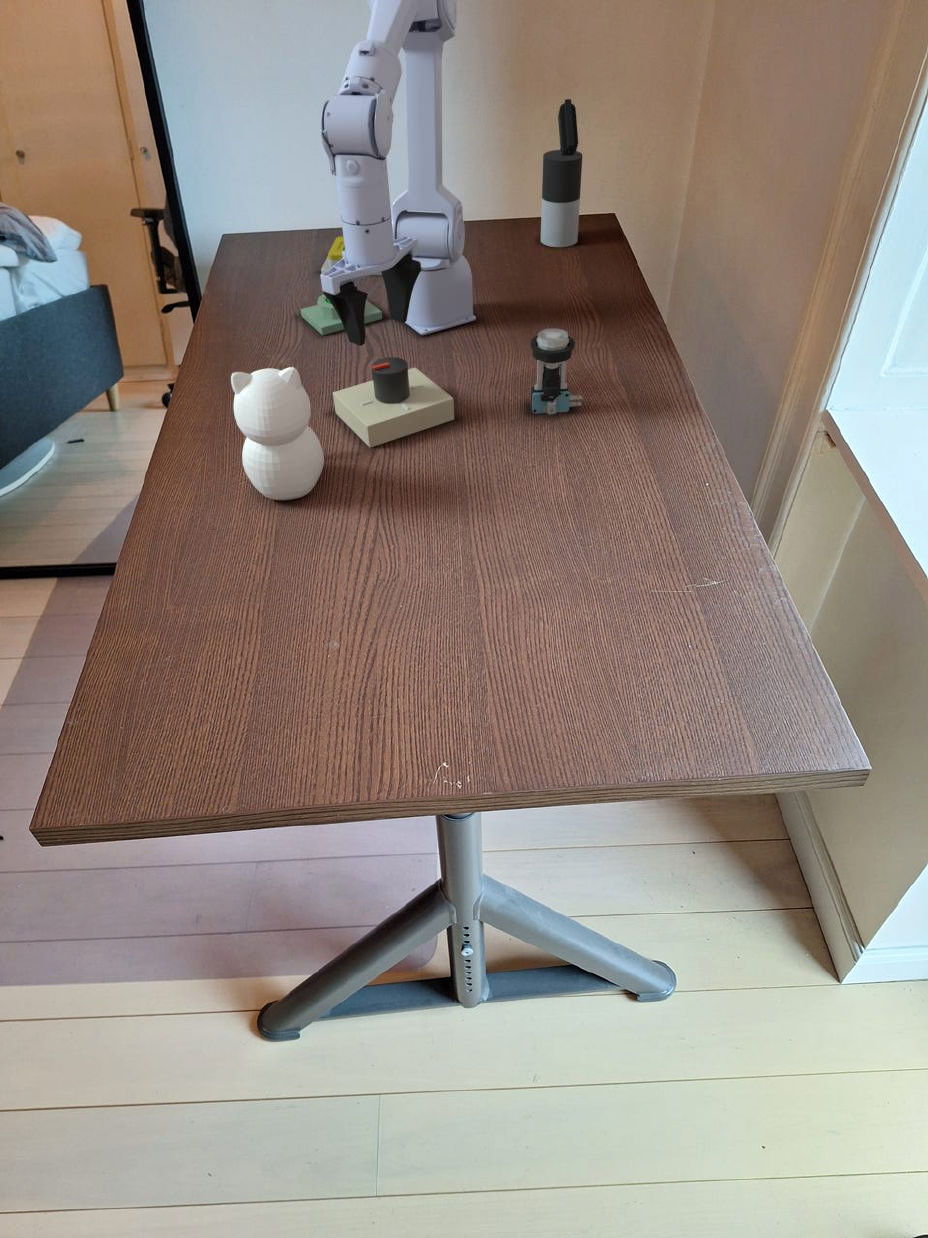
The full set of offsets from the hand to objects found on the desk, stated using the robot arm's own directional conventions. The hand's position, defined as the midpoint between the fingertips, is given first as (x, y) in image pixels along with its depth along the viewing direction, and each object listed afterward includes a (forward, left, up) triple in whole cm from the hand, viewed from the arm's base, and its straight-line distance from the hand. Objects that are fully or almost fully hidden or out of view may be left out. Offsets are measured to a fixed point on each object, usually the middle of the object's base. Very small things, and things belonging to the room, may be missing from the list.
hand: (378, 331), depth 106 cm
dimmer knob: (+1, +5, -6) cm, 8 cm away
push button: (-17, +15, -10) cm, 24 cm away
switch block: (-6, -26, -9) cm, 28 cm away
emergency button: (-19, -43, -10) cm, 48 cm away
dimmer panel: (+1, +5, -9) cm, 11 cm away
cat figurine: (+18, +11, -10) cm, 23 cm away
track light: (-51, -31, -10) cm, 60 cm away
